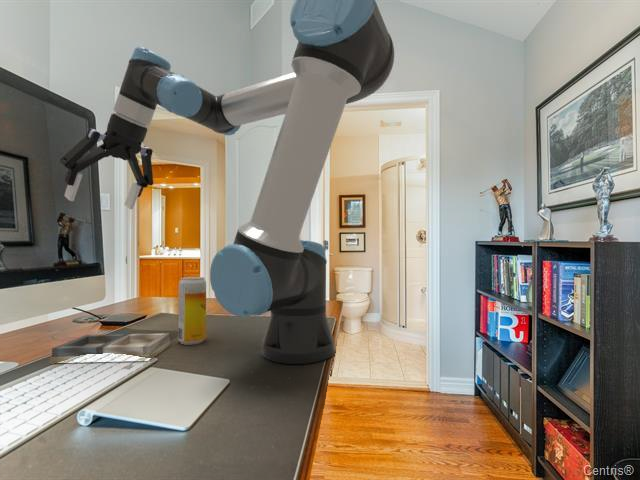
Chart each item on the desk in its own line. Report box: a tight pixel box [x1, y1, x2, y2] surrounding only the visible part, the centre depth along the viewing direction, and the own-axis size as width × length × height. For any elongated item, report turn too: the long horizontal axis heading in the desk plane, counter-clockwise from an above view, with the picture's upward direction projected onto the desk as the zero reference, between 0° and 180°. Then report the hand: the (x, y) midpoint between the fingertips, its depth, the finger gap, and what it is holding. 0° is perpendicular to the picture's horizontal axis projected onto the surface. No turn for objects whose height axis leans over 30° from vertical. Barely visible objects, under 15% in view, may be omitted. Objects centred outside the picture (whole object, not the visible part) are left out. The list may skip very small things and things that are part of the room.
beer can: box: [177, 276, 207, 346], centre depth 76 cm, size 6×6×15 cm
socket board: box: [49, 332, 171, 365], centre depth 67 cm, size 18×11×3 cm, turn 94°
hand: (100, 203), depth 78 cm, fingers open, 13 cm apart
